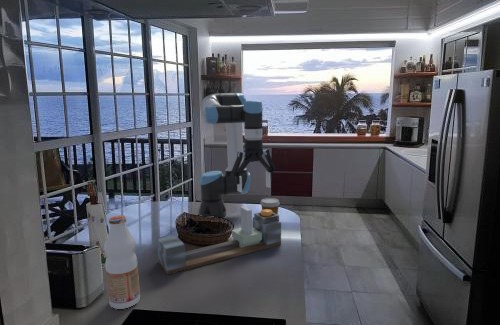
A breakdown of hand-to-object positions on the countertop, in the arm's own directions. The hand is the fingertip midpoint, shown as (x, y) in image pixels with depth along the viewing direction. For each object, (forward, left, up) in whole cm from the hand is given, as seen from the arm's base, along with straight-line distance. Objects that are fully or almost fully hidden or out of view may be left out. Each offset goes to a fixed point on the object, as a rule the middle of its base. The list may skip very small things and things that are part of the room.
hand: (254, 189), depth 152 cm
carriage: (0, -4, -23) cm, 23 cm away
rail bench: (0, -16, -25) cm, 29 cm away
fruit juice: (+16, -58, -25) cm, 65 cm away
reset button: (0, +6, -13) cm, 14 cm away
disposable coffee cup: (-18, +19, -25) cm, 36 cm away
